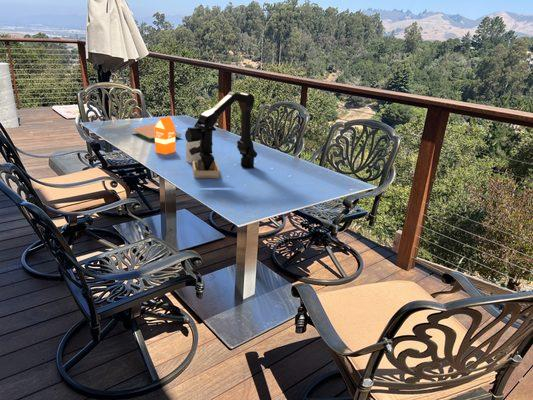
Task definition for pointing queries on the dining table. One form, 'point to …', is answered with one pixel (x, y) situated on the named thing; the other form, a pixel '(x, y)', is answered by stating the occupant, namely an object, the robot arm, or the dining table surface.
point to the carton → (206, 172)
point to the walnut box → (201, 165)
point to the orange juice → (165, 136)
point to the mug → (189, 157)
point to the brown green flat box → (149, 131)
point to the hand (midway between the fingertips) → (205, 170)
